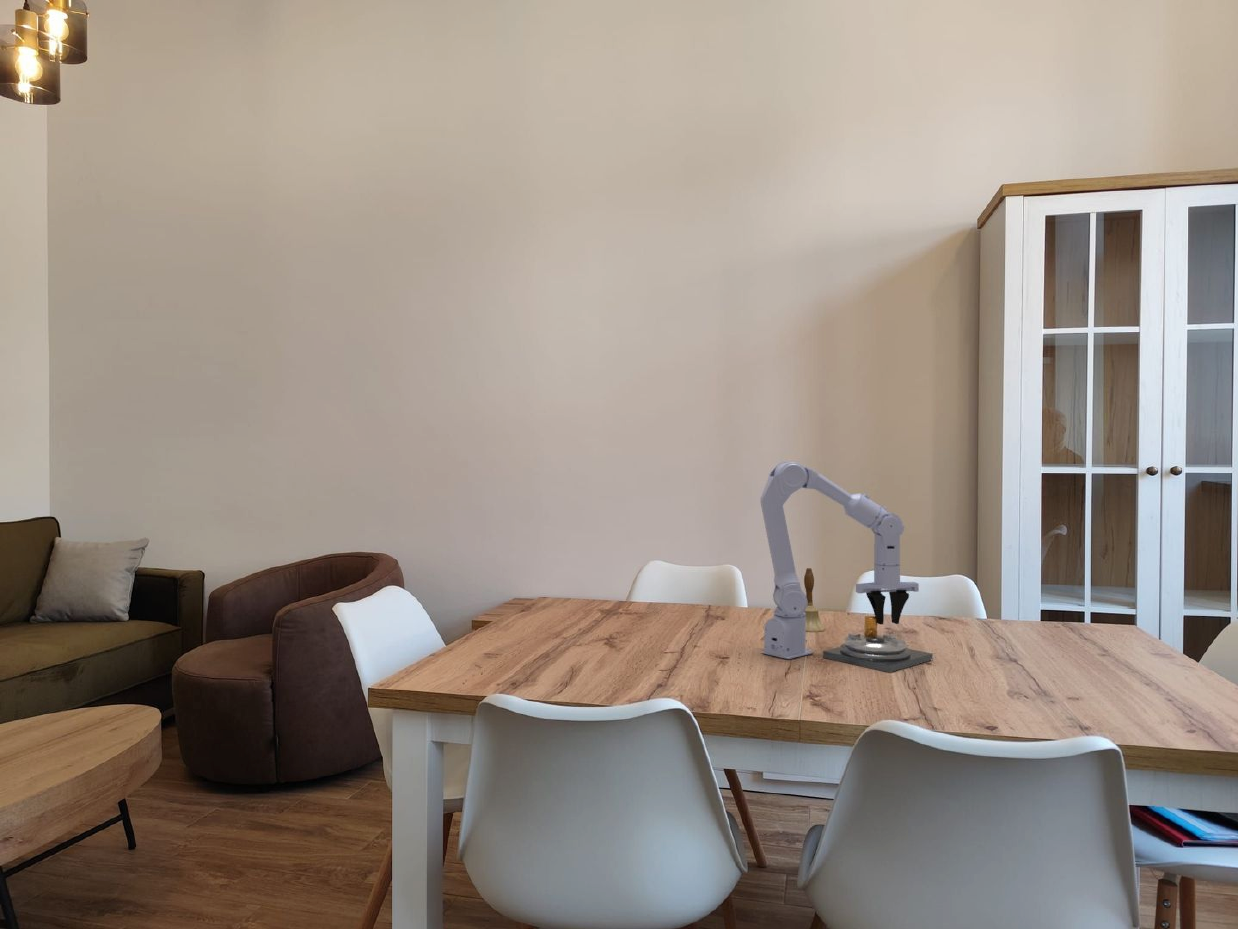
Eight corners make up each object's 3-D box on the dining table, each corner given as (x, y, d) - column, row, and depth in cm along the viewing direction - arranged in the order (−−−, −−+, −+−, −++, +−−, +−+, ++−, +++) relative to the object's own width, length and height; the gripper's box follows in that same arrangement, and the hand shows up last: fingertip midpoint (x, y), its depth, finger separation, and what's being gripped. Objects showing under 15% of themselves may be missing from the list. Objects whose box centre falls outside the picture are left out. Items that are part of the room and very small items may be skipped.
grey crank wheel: (911, 654, 182) (912, 628, 182) (850, 653, 184) (850, 626, 183) (898, 641, 195) (898, 616, 195) (840, 640, 197) (840, 615, 196)
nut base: (890, 672, 178) (890, 660, 178) (823, 657, 191) (823, 645, 191) (932, 660, 189) (932, 648, 189) (866, 646, 202) (866, 635, 202)
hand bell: (817, 633, 217) (817, 571, 217) (787, 629, 222) (788, 568, 222) (830, 628, 223) (831, 568, 223) (801, 624, 228) (801, 565, 228)
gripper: (908, 561, 200) (908, 619, 200) (849, 563, 197) (850, 621, 198) (923, 565, 193) (923, 624, 193) (863, 567, 191) (863, 627, 191)
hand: (887, 623), depth 195 cm, fingers open, 3 cm apart
